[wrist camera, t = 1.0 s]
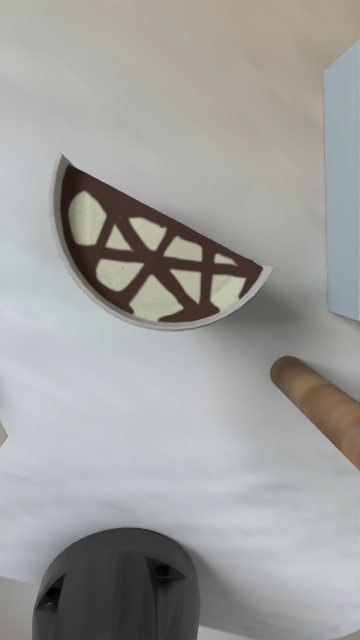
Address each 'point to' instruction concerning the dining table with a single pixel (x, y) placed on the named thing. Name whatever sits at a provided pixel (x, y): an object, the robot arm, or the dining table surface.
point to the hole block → (343, 182)
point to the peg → (321, 404)
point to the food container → (144, 257)
